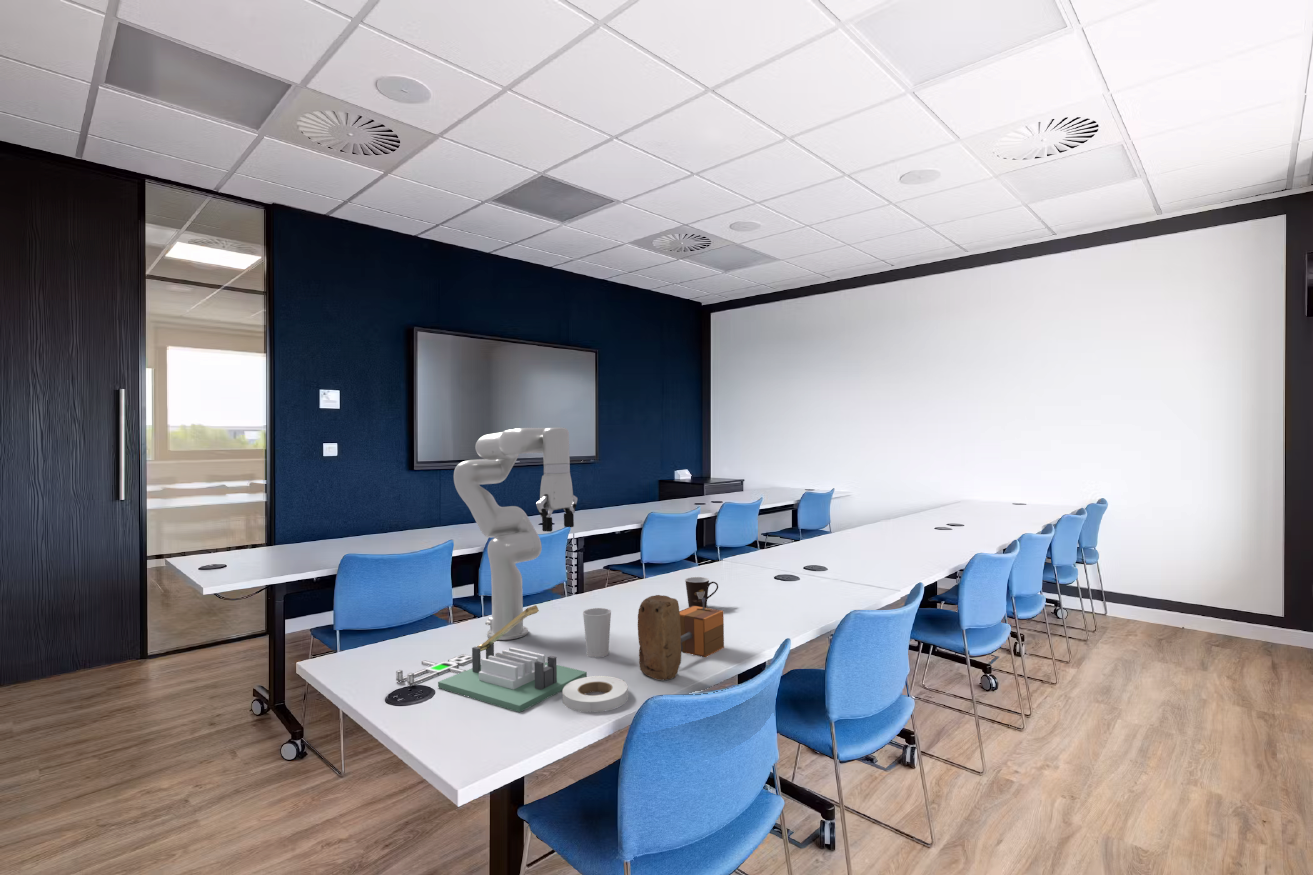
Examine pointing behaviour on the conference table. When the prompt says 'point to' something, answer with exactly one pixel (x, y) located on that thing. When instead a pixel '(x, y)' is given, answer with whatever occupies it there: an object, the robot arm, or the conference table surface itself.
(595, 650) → the cup
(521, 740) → the conference table surface
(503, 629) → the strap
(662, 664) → the block
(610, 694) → the roll of tape
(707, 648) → the clamp
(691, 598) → the coffee mug
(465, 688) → the motherboard
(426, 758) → the conference table surface
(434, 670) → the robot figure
